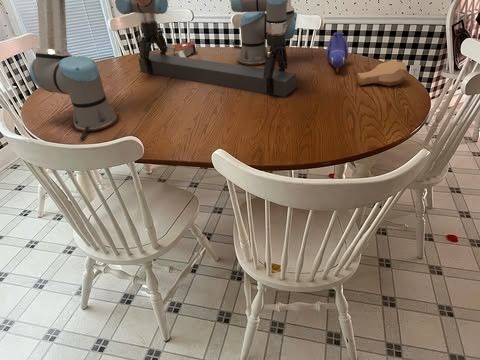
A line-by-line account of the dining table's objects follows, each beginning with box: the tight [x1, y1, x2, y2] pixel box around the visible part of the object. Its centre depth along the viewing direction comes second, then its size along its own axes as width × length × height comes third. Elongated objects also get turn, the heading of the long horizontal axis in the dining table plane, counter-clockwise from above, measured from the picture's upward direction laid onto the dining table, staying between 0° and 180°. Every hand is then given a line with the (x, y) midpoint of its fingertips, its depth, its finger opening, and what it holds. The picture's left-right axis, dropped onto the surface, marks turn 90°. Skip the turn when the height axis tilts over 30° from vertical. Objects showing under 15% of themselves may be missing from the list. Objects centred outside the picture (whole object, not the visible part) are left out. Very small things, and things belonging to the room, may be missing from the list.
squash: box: [356, 59, 408, 87], centre depth 147 cm, size 11×20×9 cm, turn 92°
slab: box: [137, 52, 297, 98], centre depth 162 cm, size 79×10×6 cm, turn 59°
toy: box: [326, 31, 349, 74], centre depth 163 cm, size 10×17×25 cm
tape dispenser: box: [170, 41, 197, 58], centre depth 192 cm, size 18×5×20 cm
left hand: (157, 68), depth 178 cm, fingers closed on slab, 10 cm apart
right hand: (275, 88), depth 149 cm, fingers closed on slab, 10 cm apart
